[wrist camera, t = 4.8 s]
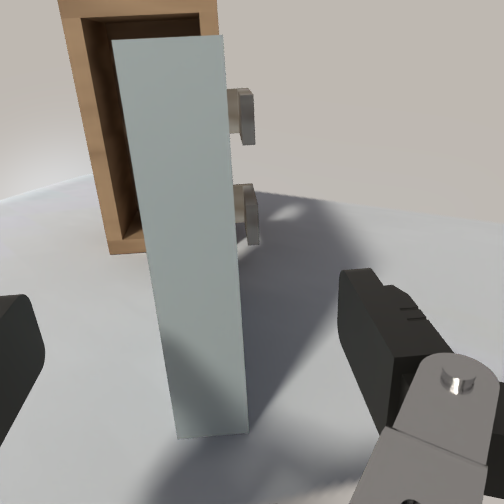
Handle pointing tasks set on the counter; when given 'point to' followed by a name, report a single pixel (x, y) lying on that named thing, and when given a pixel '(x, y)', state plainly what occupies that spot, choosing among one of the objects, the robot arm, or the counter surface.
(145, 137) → the door
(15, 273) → the counter surface
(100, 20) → the cabinet
